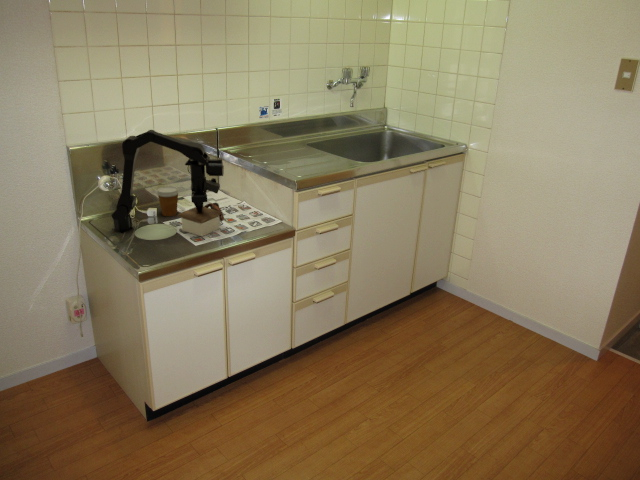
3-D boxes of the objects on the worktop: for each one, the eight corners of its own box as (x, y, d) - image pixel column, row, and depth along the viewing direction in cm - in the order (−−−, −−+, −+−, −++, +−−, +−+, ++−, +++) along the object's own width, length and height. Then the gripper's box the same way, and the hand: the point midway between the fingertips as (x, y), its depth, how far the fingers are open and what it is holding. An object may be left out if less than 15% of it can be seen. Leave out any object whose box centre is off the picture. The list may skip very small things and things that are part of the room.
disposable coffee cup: (161, 219, 240) (159, 193, 235) (156, 212, 248) (154, 187, 243) (182, 216, 244) (181, 191, 239) (177, 209, 252) (175, 185, 247)
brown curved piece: (223, 224, 239) (213, 210, 234) (205, 231, 242) (195, 217, 237) (228, 208, 248) (218, 194, 244) (211, 215, 251) (201, 202, 247)
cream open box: (201, 237, 223) (200, 223, 221) (182, 231, 229) (181, 217, 226) (219, 229, 232) (219, 216, 230) (200, 223, 237) (200, 210, 235)
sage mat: (154, 244, 216) (154, 243, 216) (125, 234, 224) (125, 233, 224) (185, 231, 229) (185, 229, 229) (157, 222, 237) (157, 221, 237)
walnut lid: (200, 222, 219) (200, 210, 217) (177, 215, 226) (176, 203, 224) (222, 213, 230) (222, 201, 227) (199, 207, 236) (199, 195, 234)
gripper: (219, 181, 214) (220, 218, 220) (216, 168, 231) (218, 203, 237) (190, 182, 212) (192, 220, 218) (190, 169, 228) (192, 204, 235)
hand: (200, 211), depth 227 cm, fingers closed on walnut lid, 3 cm apart
